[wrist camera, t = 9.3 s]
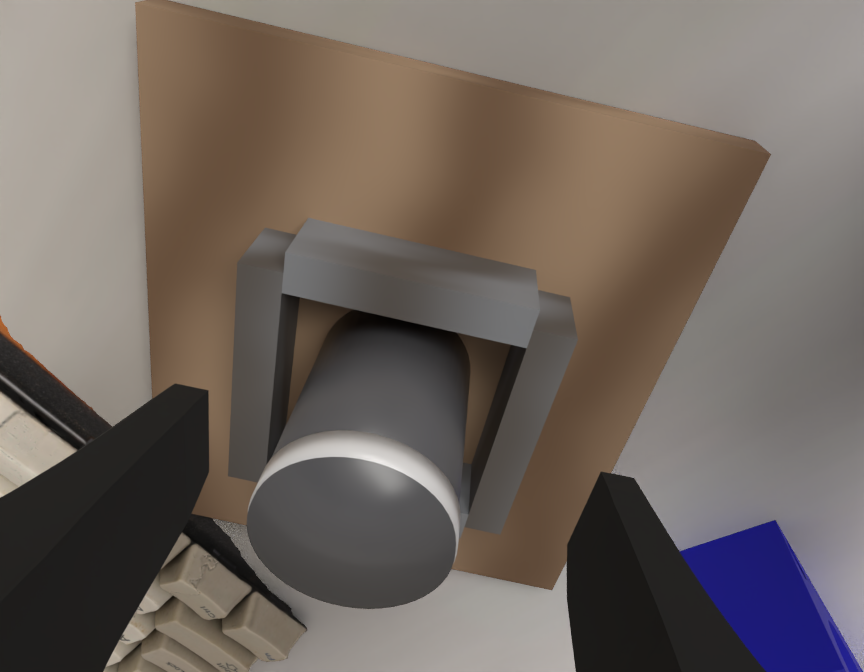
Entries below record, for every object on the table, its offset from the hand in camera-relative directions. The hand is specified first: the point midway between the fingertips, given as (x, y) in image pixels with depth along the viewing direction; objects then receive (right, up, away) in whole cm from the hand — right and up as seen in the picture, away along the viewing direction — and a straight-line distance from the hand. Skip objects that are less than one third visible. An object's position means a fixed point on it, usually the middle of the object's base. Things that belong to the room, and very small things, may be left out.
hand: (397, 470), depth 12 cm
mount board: (0, +2, +10) cm, 10 cm away
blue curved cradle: (+15, -10, +16) cm, 24 cm away
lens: (-1, +1, +9) cm, 9 cm away
